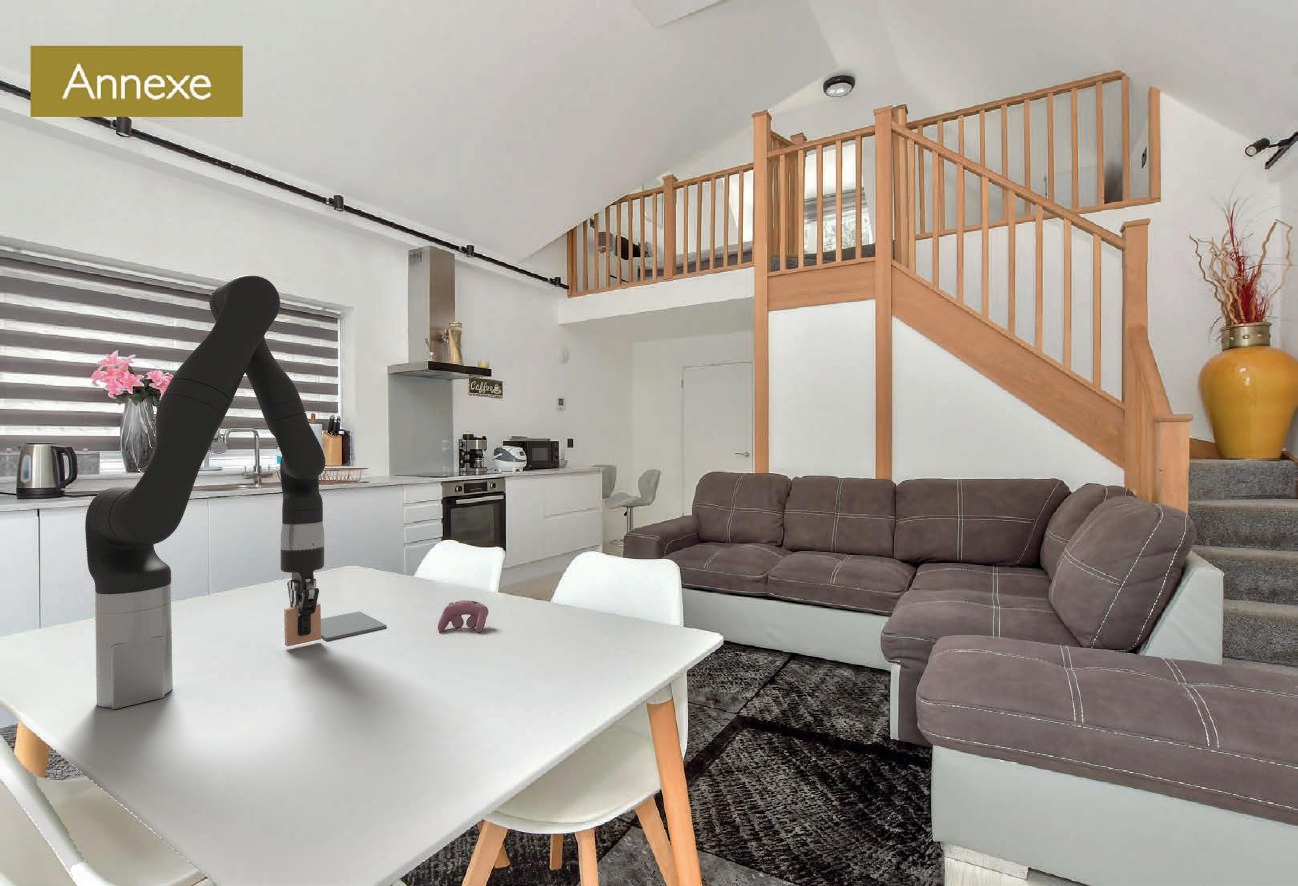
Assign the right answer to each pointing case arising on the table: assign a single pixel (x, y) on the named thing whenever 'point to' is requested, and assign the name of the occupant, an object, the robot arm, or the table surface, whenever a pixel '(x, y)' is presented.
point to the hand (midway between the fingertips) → (302, 633)
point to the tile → (292, 626)
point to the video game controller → (464, 608)
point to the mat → (348, 625)
